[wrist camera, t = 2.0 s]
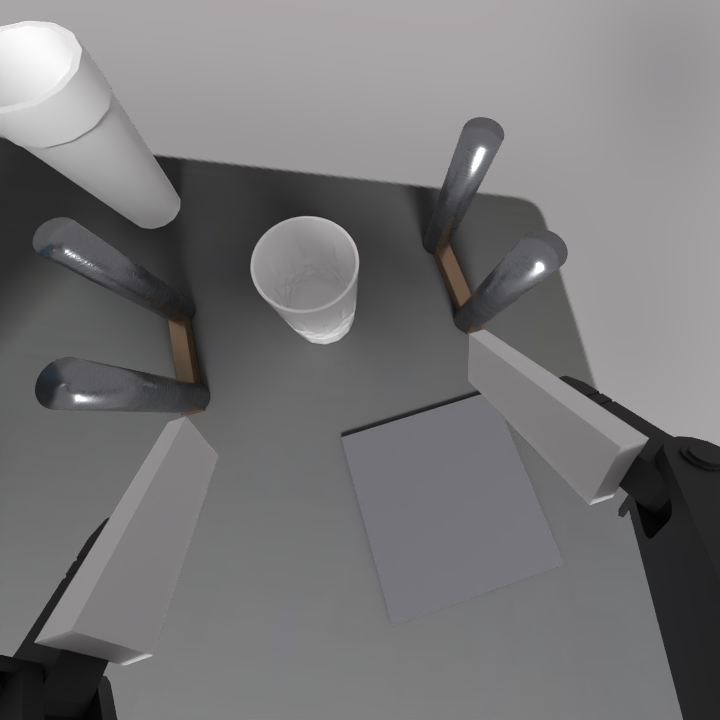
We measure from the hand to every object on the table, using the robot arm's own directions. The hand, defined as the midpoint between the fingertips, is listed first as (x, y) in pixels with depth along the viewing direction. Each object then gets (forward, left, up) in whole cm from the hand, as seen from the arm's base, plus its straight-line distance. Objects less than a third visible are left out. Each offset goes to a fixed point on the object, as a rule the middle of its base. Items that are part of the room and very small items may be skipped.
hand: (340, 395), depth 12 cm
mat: (+11, -6, -14) cm, 19 cm away
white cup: (-5, +9, -15) cm, 18 cm away
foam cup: (-29, +18, -15) cm, 37 cm away
